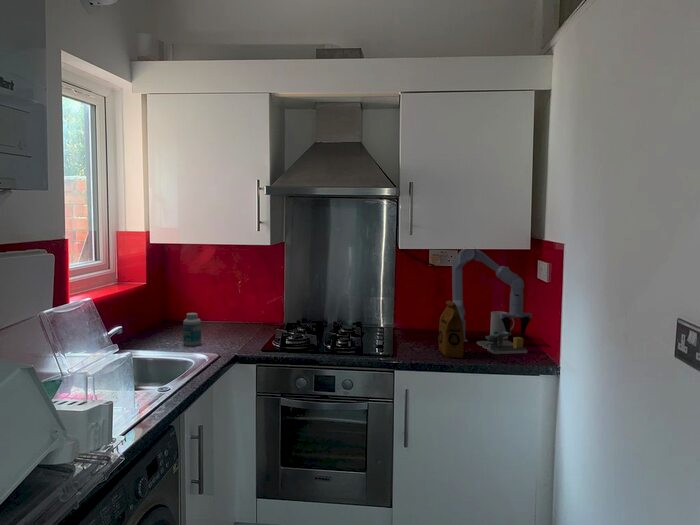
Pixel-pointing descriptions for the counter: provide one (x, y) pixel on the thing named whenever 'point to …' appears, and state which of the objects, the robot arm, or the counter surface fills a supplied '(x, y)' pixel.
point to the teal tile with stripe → (498, 334)
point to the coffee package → (451, 332)
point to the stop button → (492, 339)
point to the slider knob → (517, 342)
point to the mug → (498, 323)
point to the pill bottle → (192, 330)
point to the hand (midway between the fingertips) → (515, 333)
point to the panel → (501, 346)
